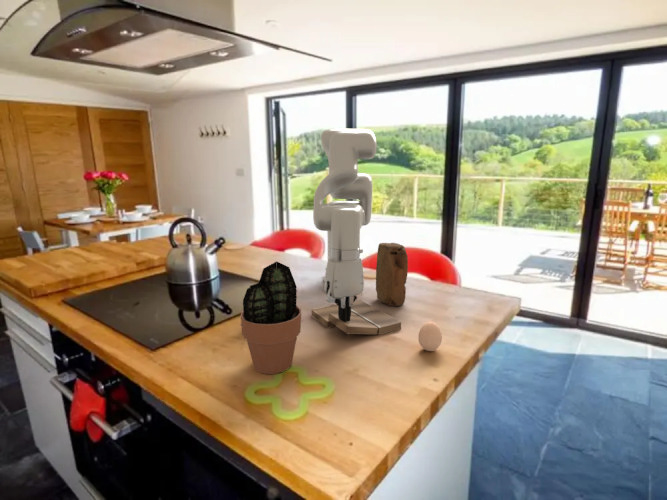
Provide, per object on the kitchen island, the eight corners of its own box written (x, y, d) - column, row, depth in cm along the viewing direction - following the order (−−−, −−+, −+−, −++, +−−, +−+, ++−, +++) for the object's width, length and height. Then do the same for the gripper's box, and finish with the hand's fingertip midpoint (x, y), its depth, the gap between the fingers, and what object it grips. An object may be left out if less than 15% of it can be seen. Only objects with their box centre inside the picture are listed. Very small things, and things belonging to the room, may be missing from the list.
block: (373, 298, 135) (375, 241, 131) (392, 295, 138) (394, 240, 133) (389, 308, 125) (391, 248, 121) (409, 305, 128) (412, 246, 124)
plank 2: (327, 319, 110) (329, 313, 110) (356, 321, 115) (357, 315, 115) (346, 333, 101) (348, 326, 101) (376, 334, 107) (378, 327, 106)
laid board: (339, 309, 125) (339, 303, 124) (359, 305, 128) (360, 299, 128) (379, 334, 107) (379, 327, 107) (400, 328, 111) (401, 321, 110)
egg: (430, 357, 95) (432, 329, 93) (412, 348, 99) (414, 321, 97) (445, 351, 98) (447, 323, 96) (427, 342, 102) (429, 315, 101)
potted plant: (251, 350, 98) (246, 254, 92) (304, 350, 98) (303, 254, 92) (236, 379, 85) (229, 270, 79) (298, 381, 84) (296, 270, 79)
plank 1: (311, 315, 120) (311, 309, 119) (339, 309, 124) (339, 303, 124) (327, 327, 111) (327, 321, 111) (356, 320, 116) (356, 314, 115)
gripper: (360, 249, 109) (359, 310, 113) (313, 254, 102) (313, 320, 105) (376, 254, 103) (375, 319, 106) (327, 260, 95) (327, 330, 99)
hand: (344, 319), depth 106 cm, fingers closed
